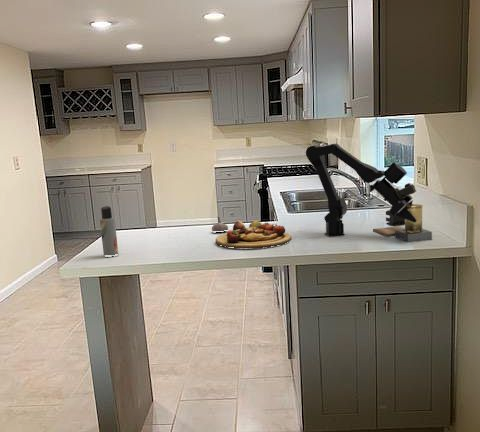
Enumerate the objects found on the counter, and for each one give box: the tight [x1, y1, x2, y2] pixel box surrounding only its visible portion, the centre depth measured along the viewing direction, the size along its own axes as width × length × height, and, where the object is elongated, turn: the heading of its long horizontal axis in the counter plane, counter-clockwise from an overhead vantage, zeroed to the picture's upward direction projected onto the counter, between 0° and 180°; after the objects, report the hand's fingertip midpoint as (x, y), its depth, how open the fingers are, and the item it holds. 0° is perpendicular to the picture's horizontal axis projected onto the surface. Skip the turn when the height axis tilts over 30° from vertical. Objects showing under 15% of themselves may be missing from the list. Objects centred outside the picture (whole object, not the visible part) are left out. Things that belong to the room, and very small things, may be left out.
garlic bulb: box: [211, 215, 229, 232], centre depth 229 cm, size 8×7×8 cm
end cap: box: [385, 209, 405, 226], centre depth 222 cm, size 10×7×7 cm
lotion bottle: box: [99, 205, 119, 256], centre depth 196 cm, size 6×6×20 cm
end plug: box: [404, 203, 423, 233], centre depth 193 cm, size 7×7×12 cm
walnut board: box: [372, 225, 405, 238], centre depth 206 cm, size 12×12×1 cm
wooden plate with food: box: [215, 219, 292, 248], centre depth 207 cm, size 32×32×8 cm
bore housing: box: [394, 228, 433, 243], centre depth 194 cm, size 10×10×3 cm
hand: (417, 220), depth 192 cm, fingers closed on end plug, 6 cm apart
